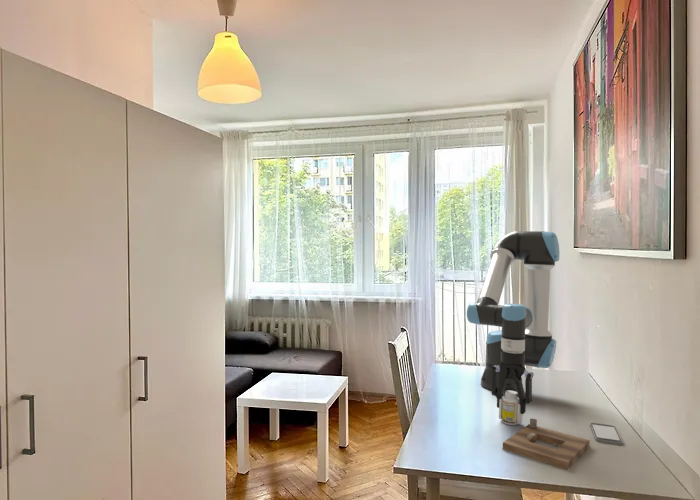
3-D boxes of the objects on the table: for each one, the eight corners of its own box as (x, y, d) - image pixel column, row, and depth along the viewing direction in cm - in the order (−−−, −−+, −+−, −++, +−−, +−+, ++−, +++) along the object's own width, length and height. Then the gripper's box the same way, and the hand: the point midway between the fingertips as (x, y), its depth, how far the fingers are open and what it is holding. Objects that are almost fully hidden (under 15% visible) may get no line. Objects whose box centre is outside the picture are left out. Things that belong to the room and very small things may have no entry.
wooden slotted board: (529, 430, 156) (529, 416, 156) (589, 446, 144) (590, 432, 144) (502, 449, 141) (503, 434, 141) (567, 469, 129) (568, 453, 129)
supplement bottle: (514, 419, 165) (515, 389, 165) (522, 425, 160) (523, 394, 159) (498, 419, 164) (499, 389, 164) (506, 426, 159) (507, 395, 158)
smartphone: (596, 439, 148) (589, 422, 162) (595, 442, 148) (589, 425, 162) (623, 443, 145) (614, 425, 160) (623, 446, 146) (614, 429, 160)
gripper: (481, 347, 165) (479, 415, 165) (536, 357, 152) (534, 431, 153) (491, 344, 170) (489, 410, 171) (545, 353, 158) (542, 424, 159)
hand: (510, 420), depth 162 cm, fingers closed on supplement bottle, 5 cm apart
